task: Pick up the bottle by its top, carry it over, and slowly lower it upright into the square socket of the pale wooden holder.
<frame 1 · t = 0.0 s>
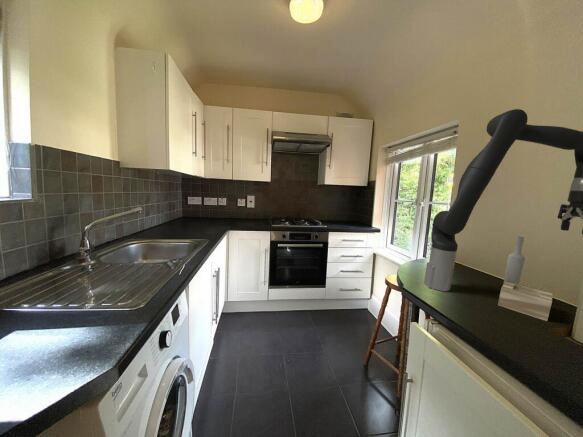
hand: (574, 232, 93), 29 cm above the worktop, tool pointing down, fingers open, 8 cm apart
bottle: (508, 293, 103), on the worktop
socket holder: (523, 307, 90), on the worktop
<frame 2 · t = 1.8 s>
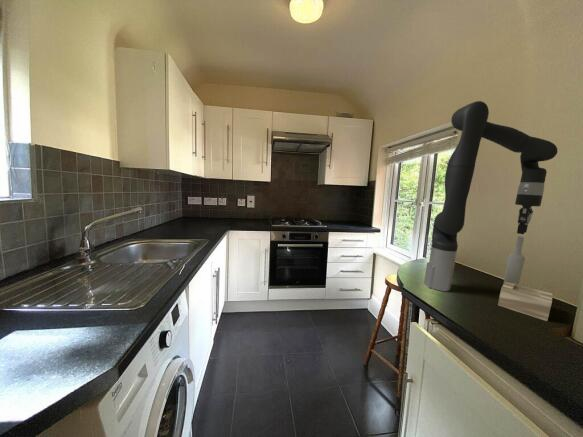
hand: (521, 233, 100), 27 cm above the worktop, tool pointing down, fingers open, 8 cm apart
nothing on the worktop moved.
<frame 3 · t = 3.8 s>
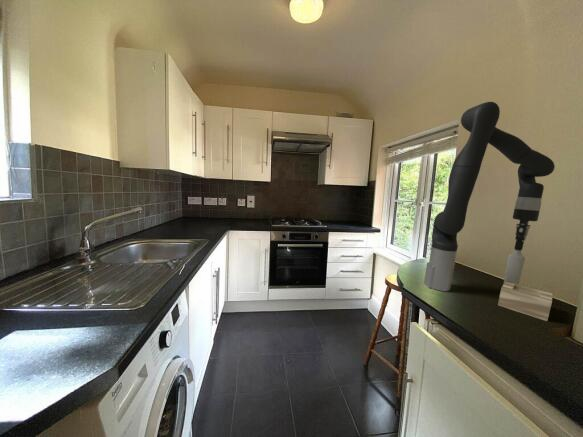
hand: (518, 249, 101), 20 cm above the worktop, tool pointing down, fingers closed on bottle, 2 cm apart
bottle: (508, 293, 103), on the worktop, touching gripper
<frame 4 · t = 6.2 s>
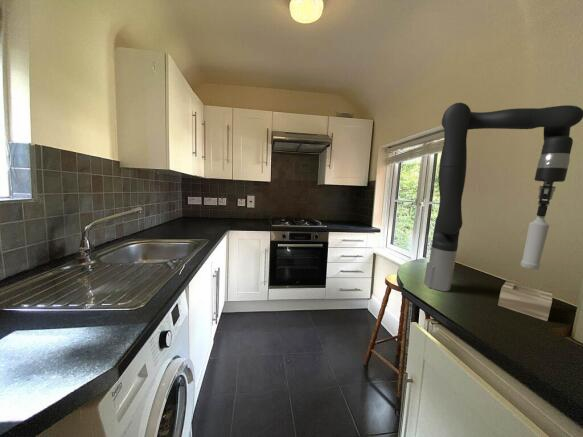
hand: (540, 215, 87), 35 cm above the worktop, tool pointing down, fingers closed on bottle
bottle: (529, 267, 90), point 15 cm above the worktop, touching gripper
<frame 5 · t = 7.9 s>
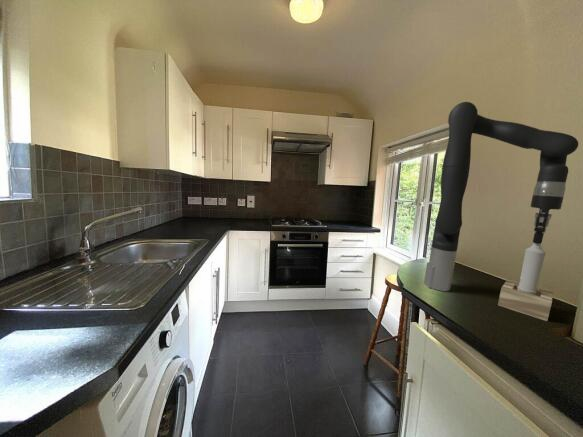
hand: (537, 242, 87), 25 cm above the worktop, tool pointing down, fingers closed on bottle
bottle: (525, 294, 90), point 5 cm above the worktop, touching gripper
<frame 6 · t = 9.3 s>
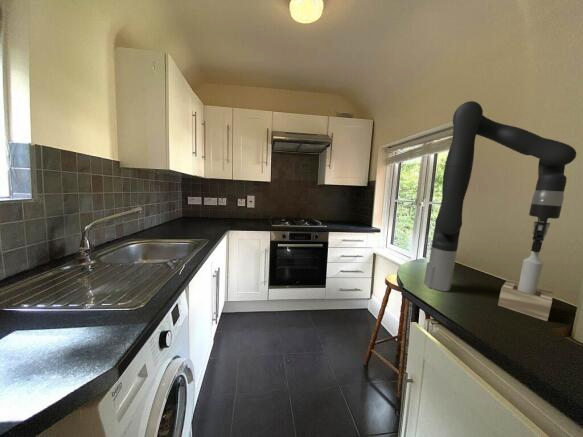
hand: (535, 250, 87), 22 cm above the worktop, tool pointing down, fingers open, 3 cm apart
bottle: (523, 304, 90), point 1 cm above the worktop, touching socket holder
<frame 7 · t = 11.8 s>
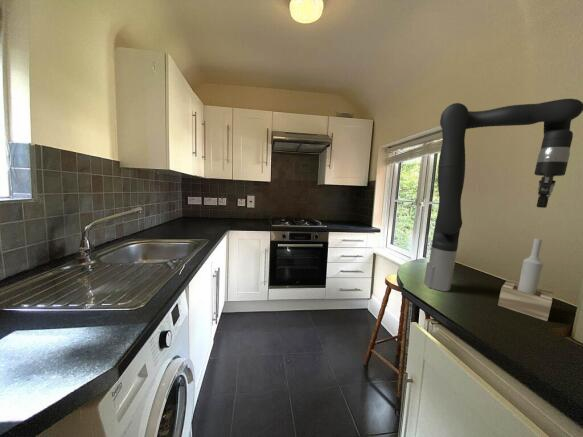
hand: (541, 207, 87), 38 cm above the worktop, tool pointing down, fingers open, 8 cm apart
nothing on the worktop moved.
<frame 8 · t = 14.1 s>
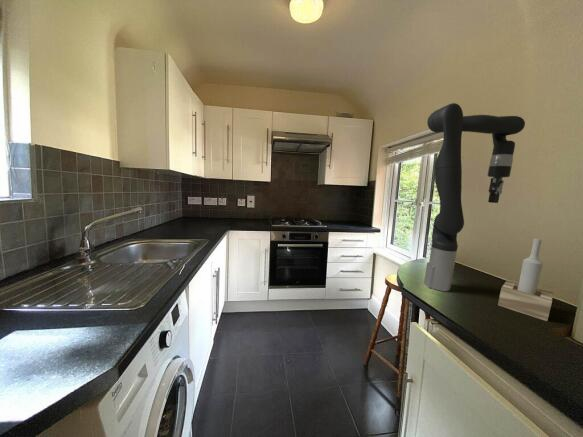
hand: (493, 202, 107), 38 cm above the worktop, tool pointing down, fingers open, 8 cm apart
nothing on the worktop moved.
at the end: bottle 0.1 cm off-centre on the socket holder, point 1.3 cm above the socket holder's base; bottle tilted 0°; the gripper is holding nothing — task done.
